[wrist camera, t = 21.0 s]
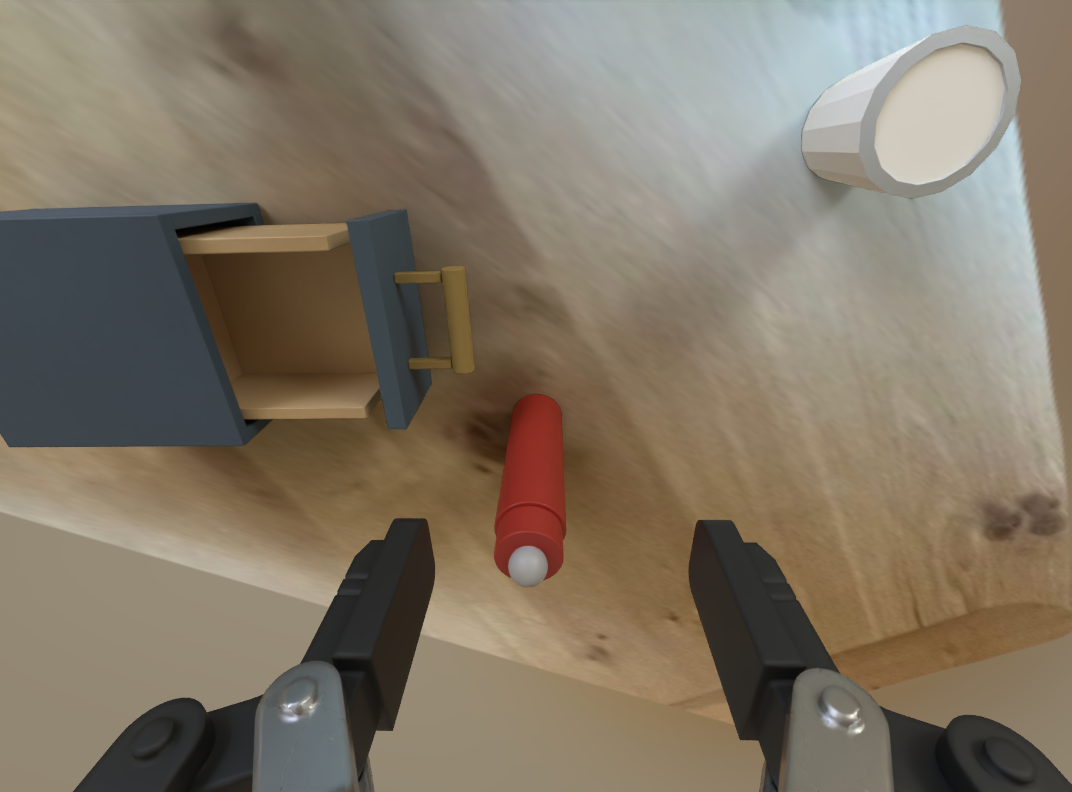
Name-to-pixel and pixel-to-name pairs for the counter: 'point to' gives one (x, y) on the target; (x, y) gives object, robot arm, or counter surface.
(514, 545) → the pepper mill
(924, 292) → the counter surface
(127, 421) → the cabinet
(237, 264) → the drawer
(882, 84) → the white faceted cylinder
